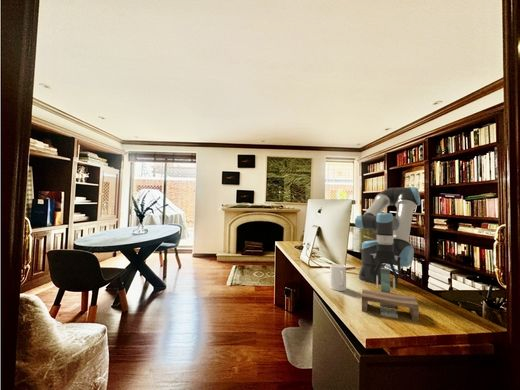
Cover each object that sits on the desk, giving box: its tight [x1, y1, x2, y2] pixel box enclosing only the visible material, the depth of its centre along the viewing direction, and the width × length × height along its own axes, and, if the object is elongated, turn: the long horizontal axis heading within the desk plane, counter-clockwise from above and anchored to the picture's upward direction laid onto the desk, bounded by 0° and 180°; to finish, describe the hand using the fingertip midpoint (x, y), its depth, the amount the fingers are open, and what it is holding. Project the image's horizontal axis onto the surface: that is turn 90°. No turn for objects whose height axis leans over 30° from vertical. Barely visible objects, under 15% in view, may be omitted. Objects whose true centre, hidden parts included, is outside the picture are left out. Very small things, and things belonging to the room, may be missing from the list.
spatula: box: [379, 267, 396, 309], centre depth 114 cm, size 20×6×12 cm, turn 155°
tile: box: [379, 306, 399, 319], centre depth 98 cm, size 6×6×2 cm
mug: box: [329, 263, 347, 292], centre depth 127 cm, size 12×8×12 cm
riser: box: [361, 288, 420, 322], centre depth 100 cm, size 10×20×6 cm, turn 65°
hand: (385, 289), depth 121 cm, fingers open, 7 cm apart
